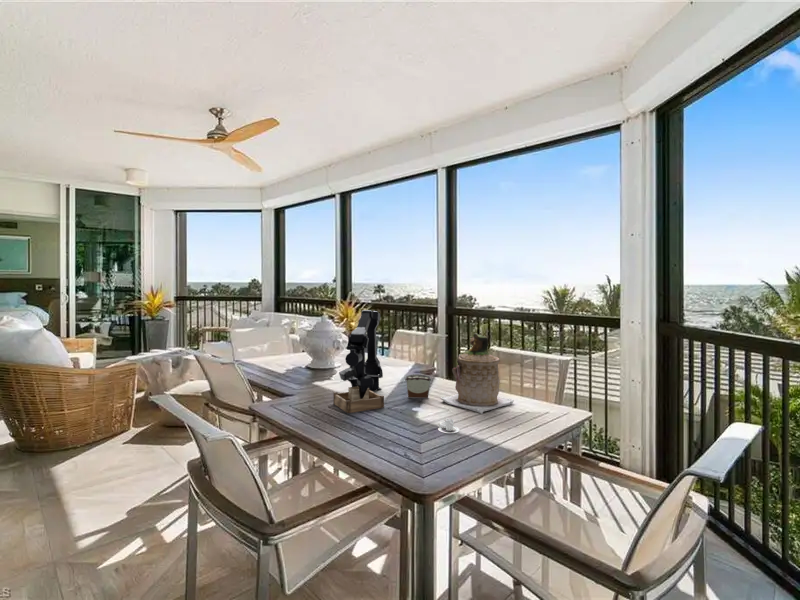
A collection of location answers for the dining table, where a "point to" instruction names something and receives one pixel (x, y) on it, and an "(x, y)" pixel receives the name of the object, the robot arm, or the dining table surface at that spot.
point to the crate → (358, 402)
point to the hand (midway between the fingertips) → (358, 396)
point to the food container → (418, 385)
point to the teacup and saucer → (448, 426)
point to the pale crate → (356, 394)
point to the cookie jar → (477, 379)
